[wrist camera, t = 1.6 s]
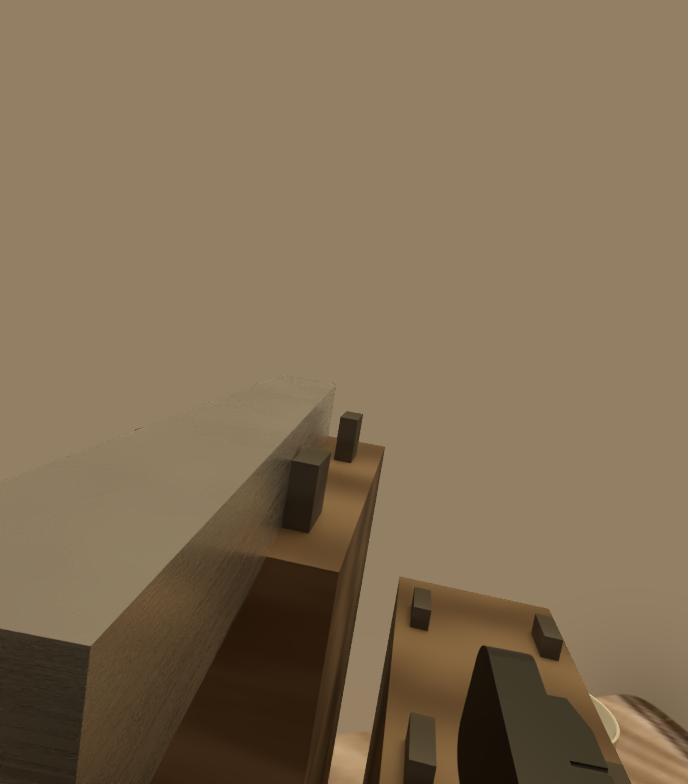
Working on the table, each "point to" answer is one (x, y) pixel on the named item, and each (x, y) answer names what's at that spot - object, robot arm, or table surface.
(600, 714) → the white cup
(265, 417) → the block
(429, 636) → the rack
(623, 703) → the table surface
